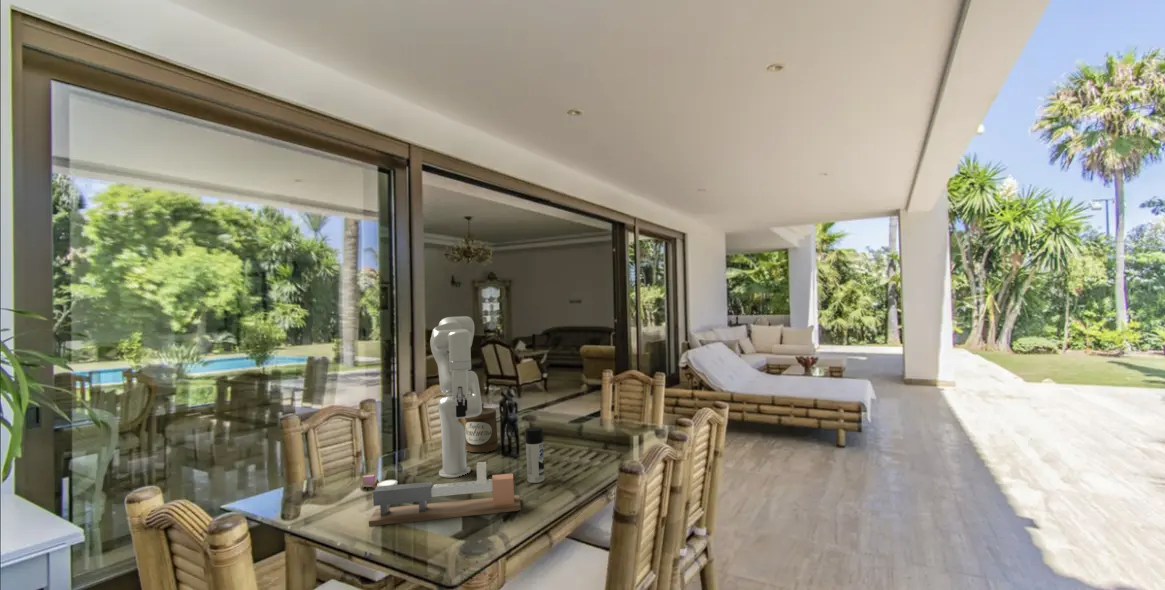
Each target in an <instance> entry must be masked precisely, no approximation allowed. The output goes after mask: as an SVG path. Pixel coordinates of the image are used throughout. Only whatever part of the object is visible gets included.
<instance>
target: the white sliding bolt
mask: <svg viewBox="0 0 1165 590" xmlns="http://www.w3.org/2000/svg"><path fill="white" fill-rule="evenodd" d="M487 492H493V487H492V478H491V479H487V461H479V462H478V461H477V462H476V480H469V481H459V482H458V481H457V482H450V483H448V482H447V483H435V484H432V486H431V497H432V498H434V497H435V498H436V497H446V496H448V497H449V496H456V495H464V494H465V495H467V494H477V493H487Z"/></svg>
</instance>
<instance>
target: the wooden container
mask: <svg viewBox="0 0 1165 590" xmlns="http://www.w3.org/2000/svg"><path fill="white" fill-rule="evenodd" d="M484 406H485V405H484V403H483V402H482V412H481V414H480V415H478V416H475V417H468V418H464V421H465V422H464V423H465V426H464V428H465V440H466V450H468V451H471V452H486V453H490V452H489V451H491V452H493V450H494V451H495V450H497V449H498V447H499V446H498V444H499V443H498V426H497V425H498V424H497V410H496V408H493V407H484Z"/></svg>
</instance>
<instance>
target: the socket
mask: <svg viewBox="0 0 1165 590" xmlns="http://www.w3.org/2000/svg"><path fill="white" fill-rule="evenodd" d="M491 479H492V487H493V491H492V497H493V506H495V505H505V504H514V495H515V490H514V489H515V488H514V487H515V486H514V473H513V472H512V473H504V474H503V473H502V474H492V478H491Z"/></svg>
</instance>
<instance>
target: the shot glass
mask: <svg viewBox="0 0 1165 590" xmlns="http://www.w3.org/2000/svg"><path fill="white" fill-rule="evenodd" d="M390 485H398V480H396V479H386V480H381V481H379V483H378V484H377V487H379V486H390ZM389 505H390V506H392V505H393V504H389Z"/></svg>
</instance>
